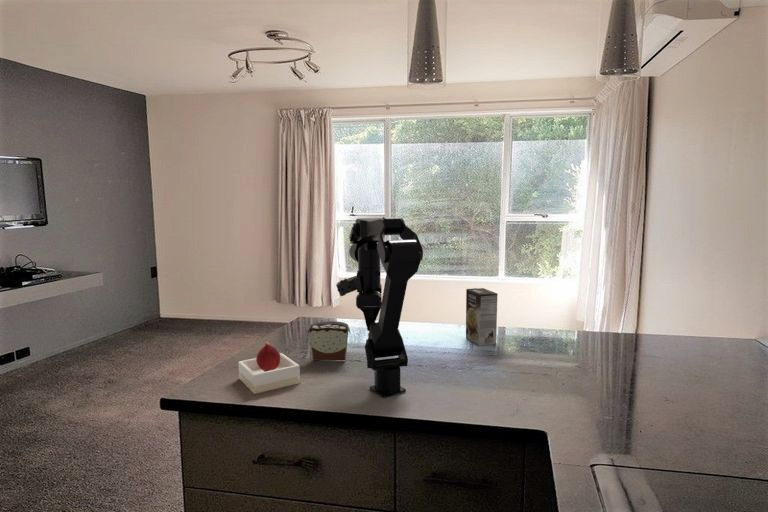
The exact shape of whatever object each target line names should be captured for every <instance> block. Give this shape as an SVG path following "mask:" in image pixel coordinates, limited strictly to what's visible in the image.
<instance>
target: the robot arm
mask: <svg viewBox="0 0 768 512" xmlns="http://www.w3.org/2000/svg"><path fill="white" fill-rule="evenodd" d="M385 236H399V237H400V239H393V240H392V239H391V240H390V239H389V240H386V241H384V238H385ZM348 238H349V242H350V244H351V246H350V247H349V251H348V253H349V257H350V258H351V259H352V260H353V261H355V262H356V263H357V265H358V267H357V268H358V269H357V270H356V271H357V272H356V275H354V276H351V277H348V278H344V279H340V281H338V282H337V283H336V288H337V292H338V293H339V296H340V297H343V296H346V295H347V294H350V293H352V292H355V291H356V293H358V294H357V295H356V298H355V306H356V307H357V309H359V310H360V311H361V312H362V313H363V317H364V321H365V325H366V329H367V331H368V334H367V336H368V337H367V339H366V340H365V344H364V349H365V357H366V367H367V369H371V370H372V371H374V372H373V373H374V385H370V386H369V387H368V388H369V390H371V391H372V392H374V393H375V394H377V395H379V396H380V397H382V398H387V397H391V396H395V395H397V394H402V393H405V392H407V389H406V388H405V387H404V386H402V385H401V368H402V367H408V364H409V363H408V362H409V356H408V354H407V350H406V347H405V344H404V343H405V342H404V339H403V336H402V335H401V332H400V329H399V326H400V321H401V317H402V311H403V305H404V301H405V297H406V293H407V292H406V291H407V287H408V282H409V280H410V279H412V277H413V276H415V275H416V274H417V272H418V270H419V268H420V264H421V261H422V260H423V258H424V249H423V246H422V244H421V242H420V239H419V236H418V234H417V233H416V232H414V231H413V229H411V228H410V227H408V225H406V223H405V220H404V219H403V218H402V217H400V216H383V217H381V218H380V217H366V218H365V217H364V218H356V220H355V221H354V222H353V223H352V227H351V230H350V234H349V237H348ZM381 265H382V267H383V269H384V272H385V273H386V276H385V280H384V287H383V289H382V284H381ZM382 290H383V292H382ZM377 319H378V321H377ZM376 321H377V322H376ZM390 357H391V358H390ZM380 358H383V359H380ZM384 358H385V359H384Z"/></svg>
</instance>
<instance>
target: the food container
mask: <svg viewBox="0 0 768 512" xmlns="http://www.w3.org/2000/svg"><path fill="white" fill-rule="evenodd" d="M350 329H351V328H350V327H349V324H348V323H346V322H342V321H337V320H335V321H334V320H328V321H326V320H325V321H318V322H317V321H316V322H313V323H311V324H309V325H307V330H306V334H308V335H309V342H310V350H311V351H310V352H311V357H312V361H313V360H323V361H322V362H328V361H327V360H331V361H330V362H333V361H332V360H345V361H347V351H348V339H349V338H348V337H349V334H351V330H350ZM324 360H326V361H324Z"/></svg>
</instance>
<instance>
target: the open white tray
mask: <svg viewBox="0 0 768 512" xmlns="http://www.w3.org/2000/svg"><path fill="white" fill-rule="evenodd" d="M279 354H280V358H281V359H280V364H279V366H278V367H277V368H276V369H275V370H271V371H266V372H265V371H263V370H262V369H261V368H260V367H259V366H258V364H257V361H256V358H257V357H254V358H249V359H244V360H240V361H238V372H239V373H238V379H239V380H240V381H241V382H242V383H243V384H244V385H245V386H246V388H248V389H249V390H250V392H252V394H254V395H256V394H259V393H265V392H268V391H271V390H276V389H281V388H285V387H289V386H293V385H298V384H301V377H300V375H301V369H300V365H299V364H298V363H297V362H295V361H293V360H292V359H291V358H290V357H288V356H286V355H285V354H284V353H281V352H279Z"/></svg>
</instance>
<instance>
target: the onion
mask: <svg viewBox="0 0 768 512" xmlns="http://www.w3.org/2000/svg"><path fill="white" fill-rule="evenodd" d="M255 358H256V361H257V364H258V366H259V367H260V368H261V369H262V370H263V371H265V372H266V371H271V370H275V369H276V368H277V367H278V366H279V364H280V359H281V358H280V352H279V351H278V349H277V348H276V347H275V346H273V345H271V344H270V342H268V341H265V344H264V346H263V347H262V348H261V349H260V350H259V351H258V353H257V354H256V357H255Z"/></svg>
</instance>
